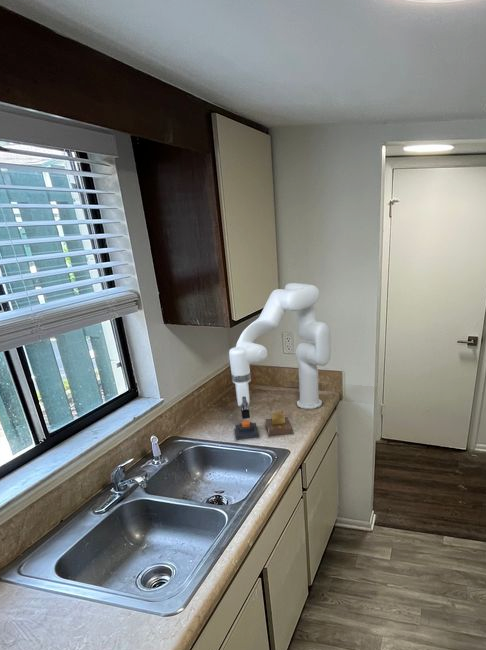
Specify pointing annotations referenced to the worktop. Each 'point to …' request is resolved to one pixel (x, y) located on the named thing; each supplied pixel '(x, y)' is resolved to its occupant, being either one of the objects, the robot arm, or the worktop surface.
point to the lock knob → (278, 418)
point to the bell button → (245, 423)
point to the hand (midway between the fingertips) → (246, 417)
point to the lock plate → (278, 428)
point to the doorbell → (246, 431)
